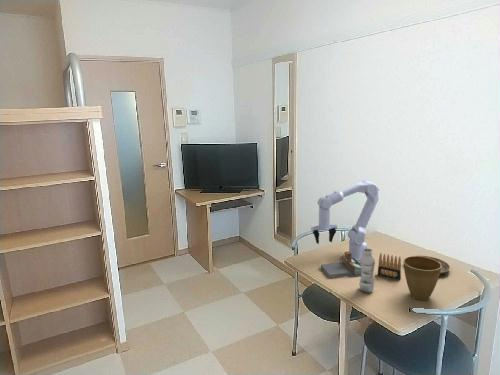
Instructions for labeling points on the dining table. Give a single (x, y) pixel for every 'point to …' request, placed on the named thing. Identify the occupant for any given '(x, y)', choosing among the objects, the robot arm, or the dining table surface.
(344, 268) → the charcoal board
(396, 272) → the ammunition clip
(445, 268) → the plant saucer
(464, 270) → the dining table surface
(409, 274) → the plant pot
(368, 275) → the plastic bottle
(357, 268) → the pale mint cube
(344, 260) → the walnut mallet
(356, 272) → the tray
